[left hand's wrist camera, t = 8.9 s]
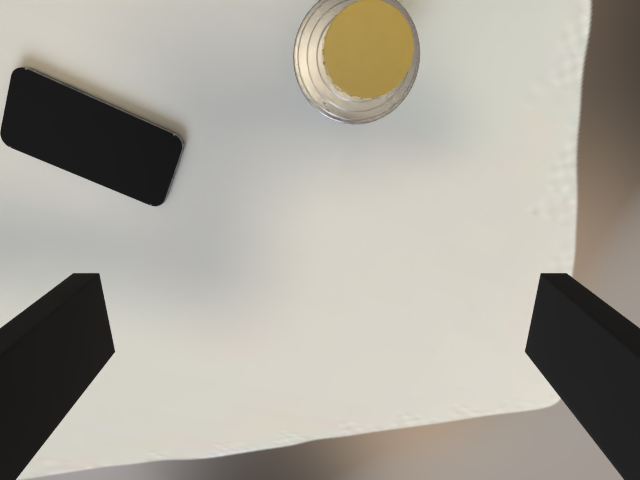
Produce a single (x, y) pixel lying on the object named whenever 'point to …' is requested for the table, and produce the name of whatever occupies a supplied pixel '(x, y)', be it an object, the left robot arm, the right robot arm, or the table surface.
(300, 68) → the bottle
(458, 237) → the table surface
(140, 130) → the smartphone
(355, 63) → the cap
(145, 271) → the table surface
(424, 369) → the table surface
